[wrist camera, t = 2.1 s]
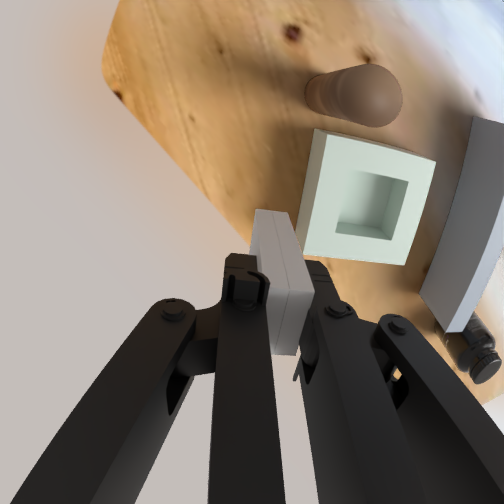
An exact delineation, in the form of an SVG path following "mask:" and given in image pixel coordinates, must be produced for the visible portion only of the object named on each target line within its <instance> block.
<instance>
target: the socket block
mask: <svg viewBox="0 0 504 504" xmlns="http://www.w3.org/2000/svg"><path fill="white" fill-rule="evenodd" d="M435 165H436V162H435V161H433V160H431V159H428V158H426V157H424V156H422V155H419V154H417V153H414V152H412V151H409V150H405V149H402V148H398V147H395V146H391V145H387V144H383V143H379V142H375V141H371V140H367V139H363V138H359V137H355V136H350V135H346V134H341V133H336V132H331V131H326V130H321V129H316V128H314V134H313V140H312V145H311V151H310V156H309V162H308V167H307V173H306V178H305V183H304V189H303V194H302V199H301V204H300V209H299V214H298V219H297V224H296V229H295V234H296V236H297V239H298V242H299V245H300V248H301V251H302V254H304V255H313V256H323V257H332V258H341V259H350V260H359V261H368V262H377V263H386V264H396V265H405V262H406V259H407V256H408V254H409V251H410V248H411V245H412V242H413V239H414V236H415V233H416V230H417V227H418V224H419V221H420V218H421V215H422V212H423V208H424V205H425V202H426V198H427V195H428V191H429V187H430V184H431V180H432V176H433V172H434V169H435Z"/></svg>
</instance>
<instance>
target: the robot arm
mask: <svg viewBox="0 0 504 504" xmlns="http://www.w3.org/2000/svg"><path fill="white" fill-rule="evenodd" d="M502 1H503V2H504V0H502ZM298 346H300V351H301V356H300V358H299V361H298V364H297V367H296V370H295V373H294V376H293V381H296V380H297V377H298V375H299V376H300V383H301V389H302V395H303V401H304V407H305V413H306V419H307V426H308V432H309V439H310V445H311V452H312V458H313V465H314V472H315V479H316V485H317V492H318V500H319V504H504V435H503V433H502V432H501V431H500V429H499V428H498V427H497V425H496V424H495V423H494V421H493V420H492V419H491V417H490V416H489V415H488V414H487V412H486V411H485V410H484V408H483V407H482V406H481V404H480V403H479V402H478V401H477V399H476V398H475V397H474V396H473V394H472V393H471V392H470V391H469V389H468V388H467V387H466V386H465V385H464V383H463V382H462V381H461V380H460V378H459V377H458V376H457V375H456V374H455V372H454V371H453V370H452V369H451V368H450V366H449V365H448V364H447V363H446V362H445V361H444V359H443V358H442V357H441V356H440V355H439V354H438V352H437V351H436V350H435V349H434V348H433V347H432V345H431V344H430V343H429V342H428V341H427V340H426V339H425V338H424V336H423V335H422V334H421V333H420V332H419V331H418V330H417V329H416V327H415V326H414V325H413V324H412V323H411V322H410V321H408V320H407V319H406V318H404V317H402V316H400V315H396V314H386V315H383V316H382V317H381V318H380V320H379V322H378V324H377V323H373V322H369V321H365V320H362V319H359V318H358V316H357V314H356V311H355V310H354V309H353V307H352V306H350V305H349V304H348V303H346V302H344V301H341V300H340V298H339V295H338V293H337V290H336V288H335V286H334V283H333V281H332V279H331V277H330V274H329V272H328V270H327V268H326V267H325V266H324V265H323V264H322V263H321V262H320V261H313V260H304V258H303V255H302V252H301V249H300V246H299V243H298V240H297V238H296V235H295V232H294V229H293V226H292V223H291V221H290V218H289V215H288V212H280V211H272V210H263V209H256V211H255V217H254V224H253V231H252V238H251V245H250V252H249V255H247V254H237V253H231V254H230V255H229V256H228V257H227V258H226V259H225V267H224V278H223V287H222V297H221V300H220V301H219V302H218V303H217V304H216V305H214V306H213V307H210V308H207V309H202V310H195V308H194V307H193V305H191V304H190V303H189V302H187V301H184V300H182V299H175V298H170V299H163V300H161V301H158V302H156V303H155V304H154V305H153V306H152V307H151V308H150V309H149V311H148V312H147V313H146V314H145V315H144V317H143V318H142V319H141V321H140V322H139V323H138V325H137V326H136V327H135V328H134V330H133V331H132V332H131V333H130V335H129V336H128V337H127V339H126V340H125V341H124V342H123V344H122V345H121V346H120V348H119V349H118V350H117V351H116V353H115V354H114V355H113V357H112V358H111V359H110V361H109V362H108V363H107V365H106V366H105V367H104V369H103V370H102V371H101V373H100V374H99V375H98V377H97V378H96V379H95V381H94V382H93V383H92V385H91V386H90V388H89V389H88V390H87V392H86V393H85V394H84V396H83V397H82V398H81V400H80V401H79V403H78V404H77V405H76V407H75V408H74V409H73V411H72V412H71V414H70V415H69V417H68V418H67V419H66V421H65V422H64V424H63V425H62V427H61V428H60V429H59V431H58V432H57V433H56V435H55V436H54V438H53V439H52V441H51V442H50V444H49V445H48V447H47V448H46V450H45V451H44V452H43V454H42V455H41V457H40V458H39V460H38V461H37V463H36V464H35V466H34V467H33V469H32V470H31V472H30V473H29V475H28V477H27V478H26V480H25V481H24V483H23V484H22V486H21V487H20V489H19V490H18V492H17V494H16V495H15V497H14V498H13V500H12V502H11V503H10V504H135V502H136V499H137V497H138V495H139V493H140V491H141V489H142V487H143V485H144V483H145V481H146V479H147V476H148V474H149V472H150V470H151V468H152V466H153V464H154V462H155V459H156V458H157V455H158V453H159V451H160V449H161V447H162V445H163V443H164V441H165V439H166V437H167V434H168V432H169V430H170V428H171V426H172V424H173V422H174V420H175V417H176V416H177V414H178V411H179V409H180V407H181V405H182V403H183V401H184V399H185V397H186V395H187V393H188V390H189V388H190V386H191V384H192V382H193V380H194V376H195V375H202V374H208V373H214V372H215V381H214V394H213V409H212V425H211V443H210V461H209V480H208V504H286V501H285V492H284V491H285V490H284V480H283V471H282V470H283V469H282V459H281V449H280V438H279V429H278V418H277V408H276V398H275V388H274V378H273V369H272V359H271V354H275V355H293V356H296V352H297V349H298ZM397 368H398V370H399V371H400V372H401V374H402V375H401V377H400V378H399V379H396V378H395V377H394V376H393V374H394V372H395V371H396V369H397Z"/></svg>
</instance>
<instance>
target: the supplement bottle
mask: <svg viewBox="0 0 504 504" xmlns="http://www.w3.org/2000/svg"><path fill="white" fill-rule="evenodd" d="M435 332H436V334H437V335H438V337H439V339H440V340H441V342H442V343H443V345H444V347H445V348H446V350H447V352H448V353H449V355H450V357H451V358H452V360H453V362H454V363H455V365H456V367H457V368H458V369H459V370H460V371H461V372H464V373H469V376H470V377H471V378H472V380H473V382H474V383H475V384H481V383H484V382H486V381H487V380H489V379H490V378H491V377H492V376H493V375H494V374H495V373H496V372H497V371H498V370H499V368H500V366H501V363H502V360H501V359H500V357H499V356H498V353H497V352H496V351H495V345H496V343H495V338H494V337H493V335H492V334H491V332H490V331H489V330H488V328H487V327H486V326H485V324H484V323H483V322H482V321H481V319H480V318H479V317H478V315H477V314H476V313H475V312H474V311H473V313H472V315H471V317H470V319H469V321H468V322H467V324H466V326H465V328H464V329H463V331H462V332H445V331H444V329H443V328H442V326H441V325H440V324H439V322H438V321H437V320H436V323H435Z"/></svg>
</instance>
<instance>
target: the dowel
mask: <svg viewBox="0 0 504 504" xmlns="http://www.w3.org/2000/svg"><path fill="white" fill-rule="evenodd" d="M305 99H306V102H307V104H308V106H309V107H310V108H311V109H312V110H313V111H315V112H317V113H319V114H323V115H327V116H331V117H335V118H339V119H343V120H347V121H350V122H354V123H358V124H361V125H365V126H368V127H382V126H385V125H387V124H389V123H391V122H392V121H393V120H394V119H395V118H396V117H397V116H398V114H399V112H400V110H401V107H402V100H403V99H402V91H401V87H400V85H399V83H398V81H397V79H396V78H395V76H394V75H393V74H392V73H391V72H390V71H388V70H387V69H385V68H384V67H382V66H379V65H375V64H364V65H359V66H354V67H350V68H346V69H342V70H338V71H334V72H330V73H326V74H323V75H319V76H316V77H314V78H312V79H311V80H310V81H309V82H308V84H307V85H306V88H305Z"/></svg>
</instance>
